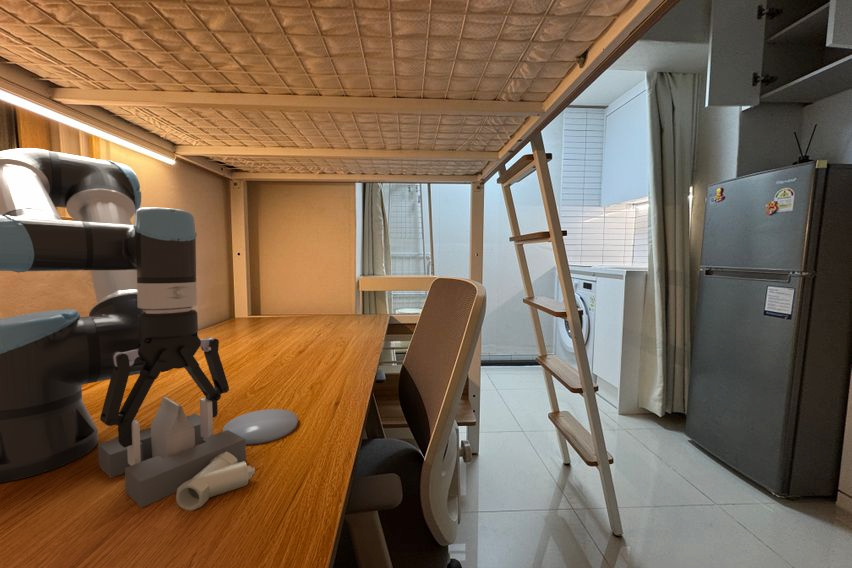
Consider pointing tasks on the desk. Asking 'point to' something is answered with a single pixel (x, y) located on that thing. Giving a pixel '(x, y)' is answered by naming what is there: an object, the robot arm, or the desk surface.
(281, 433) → the blue-grey round plate
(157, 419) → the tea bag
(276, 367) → the desk surface
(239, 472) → the pipe fitting
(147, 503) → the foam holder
